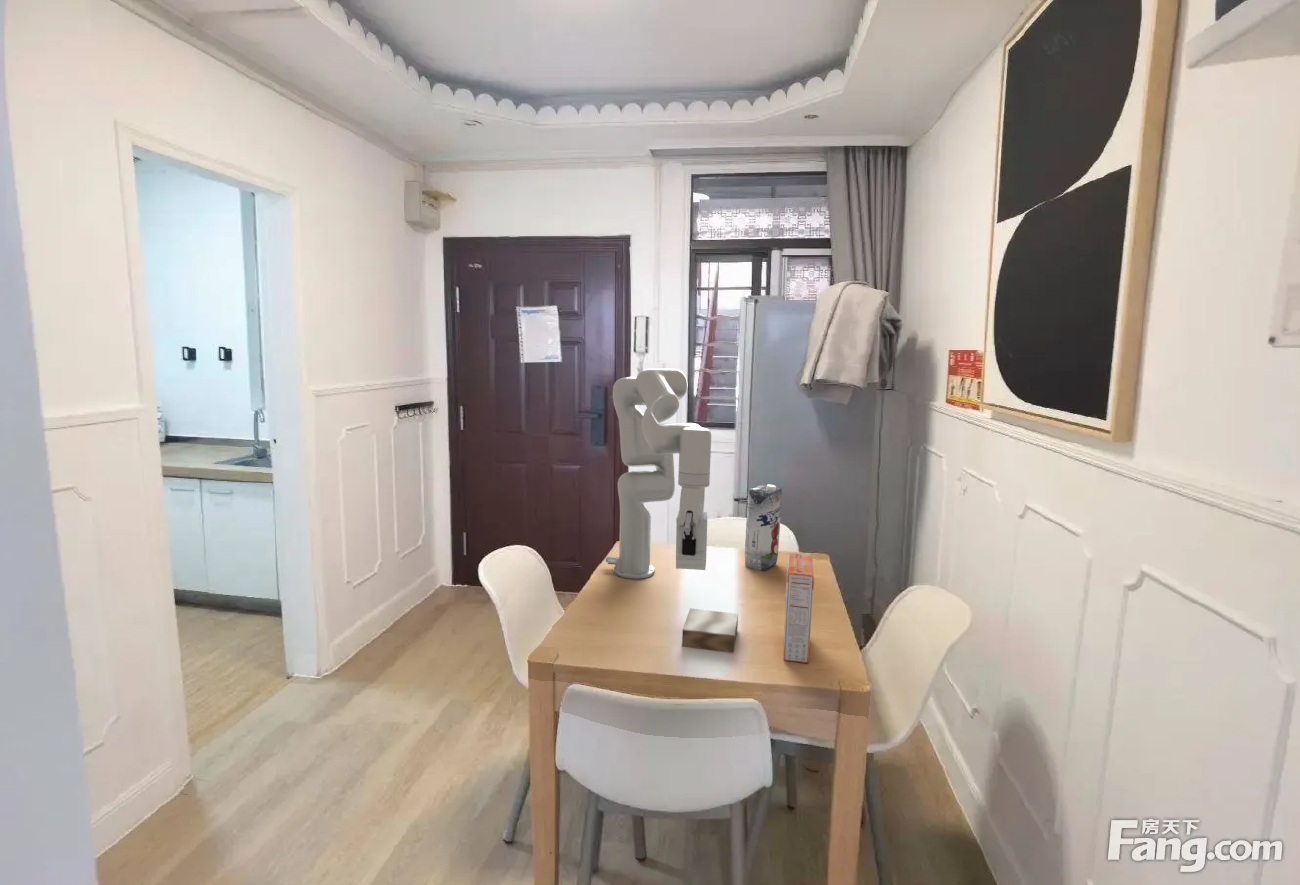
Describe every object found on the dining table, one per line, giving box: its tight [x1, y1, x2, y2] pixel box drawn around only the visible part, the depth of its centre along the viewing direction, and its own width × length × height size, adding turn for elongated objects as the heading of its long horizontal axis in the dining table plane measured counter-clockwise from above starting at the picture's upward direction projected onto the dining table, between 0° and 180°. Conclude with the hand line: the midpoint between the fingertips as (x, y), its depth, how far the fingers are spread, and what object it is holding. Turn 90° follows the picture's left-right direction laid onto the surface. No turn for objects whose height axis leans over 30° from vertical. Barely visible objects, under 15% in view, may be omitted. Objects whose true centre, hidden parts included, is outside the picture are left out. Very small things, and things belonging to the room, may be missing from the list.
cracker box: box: [783, 553, 815, 664], centre depth 145 cm, size 14×6×21 cm, turn 167°
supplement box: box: [675, 511, 708, 571], centre depth 152 cm, size 7×7×13 cm
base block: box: [681, 608, 739, 654], centre depth 150 cm, size 12×12×4 cm
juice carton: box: [744, 484, 783, 572], centre depth 200 cm, size 9×10×27 cm
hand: (691, 549), depth 152 cm, fingers closed on supplement box, 7 cm apart
